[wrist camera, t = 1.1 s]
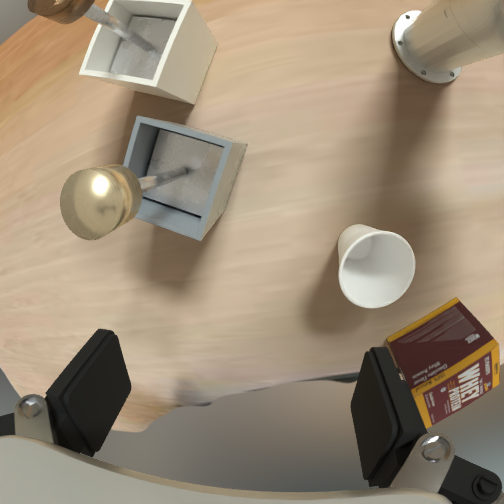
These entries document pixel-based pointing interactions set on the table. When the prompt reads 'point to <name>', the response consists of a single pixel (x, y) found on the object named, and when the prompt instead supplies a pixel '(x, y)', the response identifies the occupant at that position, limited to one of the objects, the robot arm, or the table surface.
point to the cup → (374, 266)
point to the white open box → (173, 58)
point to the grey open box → (220, 189)
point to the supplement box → (446, 360)
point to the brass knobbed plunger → (140, 186)
